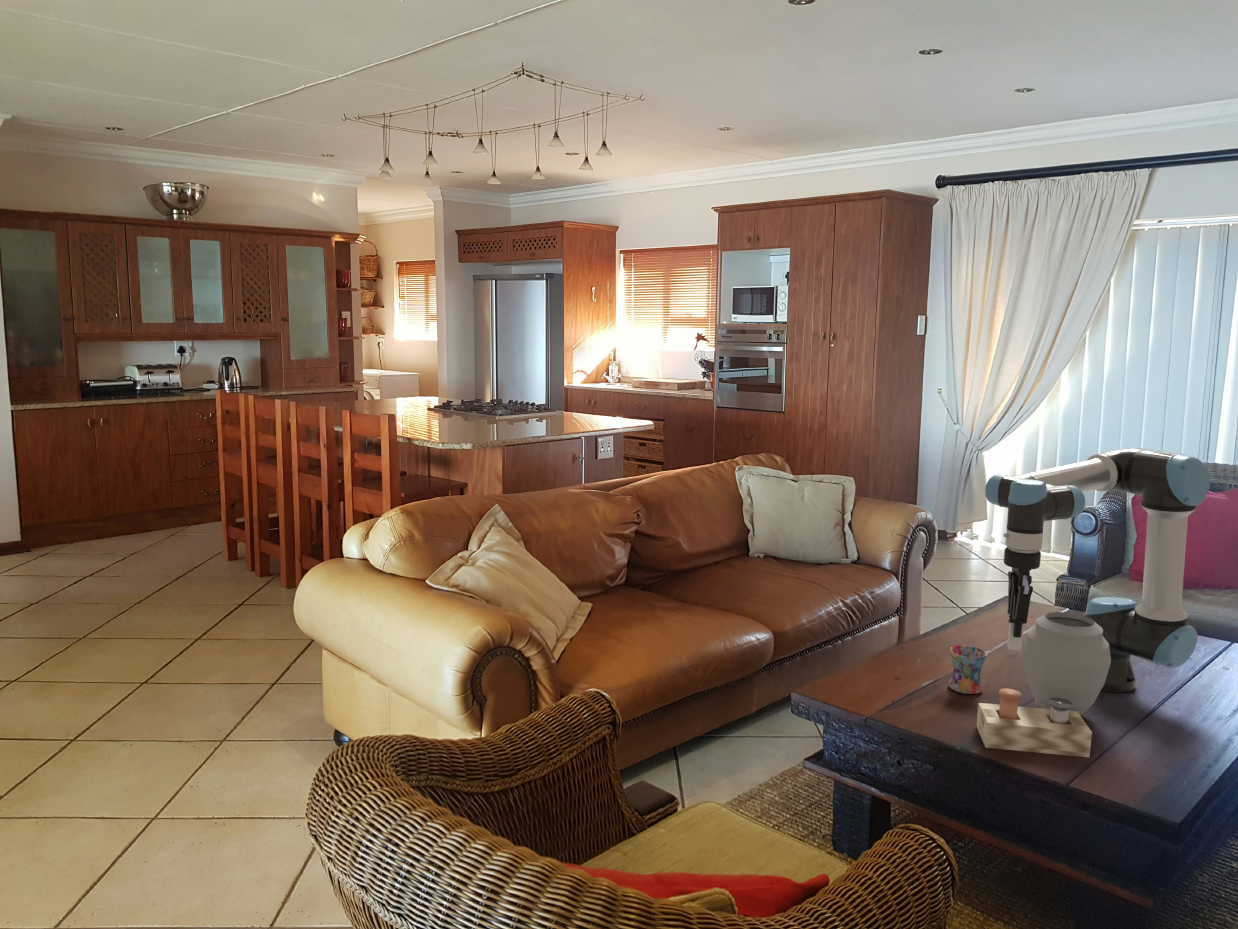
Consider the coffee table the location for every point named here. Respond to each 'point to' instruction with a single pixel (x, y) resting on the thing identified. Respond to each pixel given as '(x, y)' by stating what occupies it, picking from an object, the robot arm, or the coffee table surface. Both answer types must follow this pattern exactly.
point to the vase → (1066, 660)
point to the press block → (1033, 731)
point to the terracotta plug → (1008, 703)
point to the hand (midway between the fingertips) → (1014, 648)
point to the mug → (967, 669)
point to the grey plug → (1059, 710)
